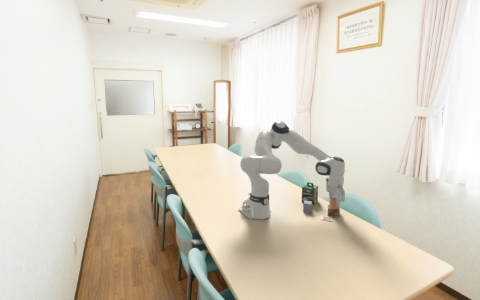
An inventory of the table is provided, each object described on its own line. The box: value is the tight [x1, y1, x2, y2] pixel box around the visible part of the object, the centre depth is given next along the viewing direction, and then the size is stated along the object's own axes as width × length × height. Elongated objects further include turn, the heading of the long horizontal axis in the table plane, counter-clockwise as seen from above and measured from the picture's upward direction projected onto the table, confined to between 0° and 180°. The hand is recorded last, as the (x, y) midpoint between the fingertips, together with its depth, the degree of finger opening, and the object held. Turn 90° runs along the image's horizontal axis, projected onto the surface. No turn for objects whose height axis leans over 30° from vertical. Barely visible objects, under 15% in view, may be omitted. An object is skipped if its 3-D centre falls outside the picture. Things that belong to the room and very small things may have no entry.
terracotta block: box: [328, 196, 340, 209], centre depth 171 cm, size 5×5×6 cm
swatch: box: [320, 215, 333, 223], centre depth 167 cm, size 7×6×1 cm
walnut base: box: [327, 204, 341, 218], centre depth 172 cm, size 7×7×5 cm
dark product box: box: [301, 181, 319, 205], centre depth 192 cm, size 9×9×15 cm
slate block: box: [302, 200, 313, 213], centre depth 178 cm, size 5×5×6 cm
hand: (334, 202), depth 171 cm, fingers open, 8 cm apart
